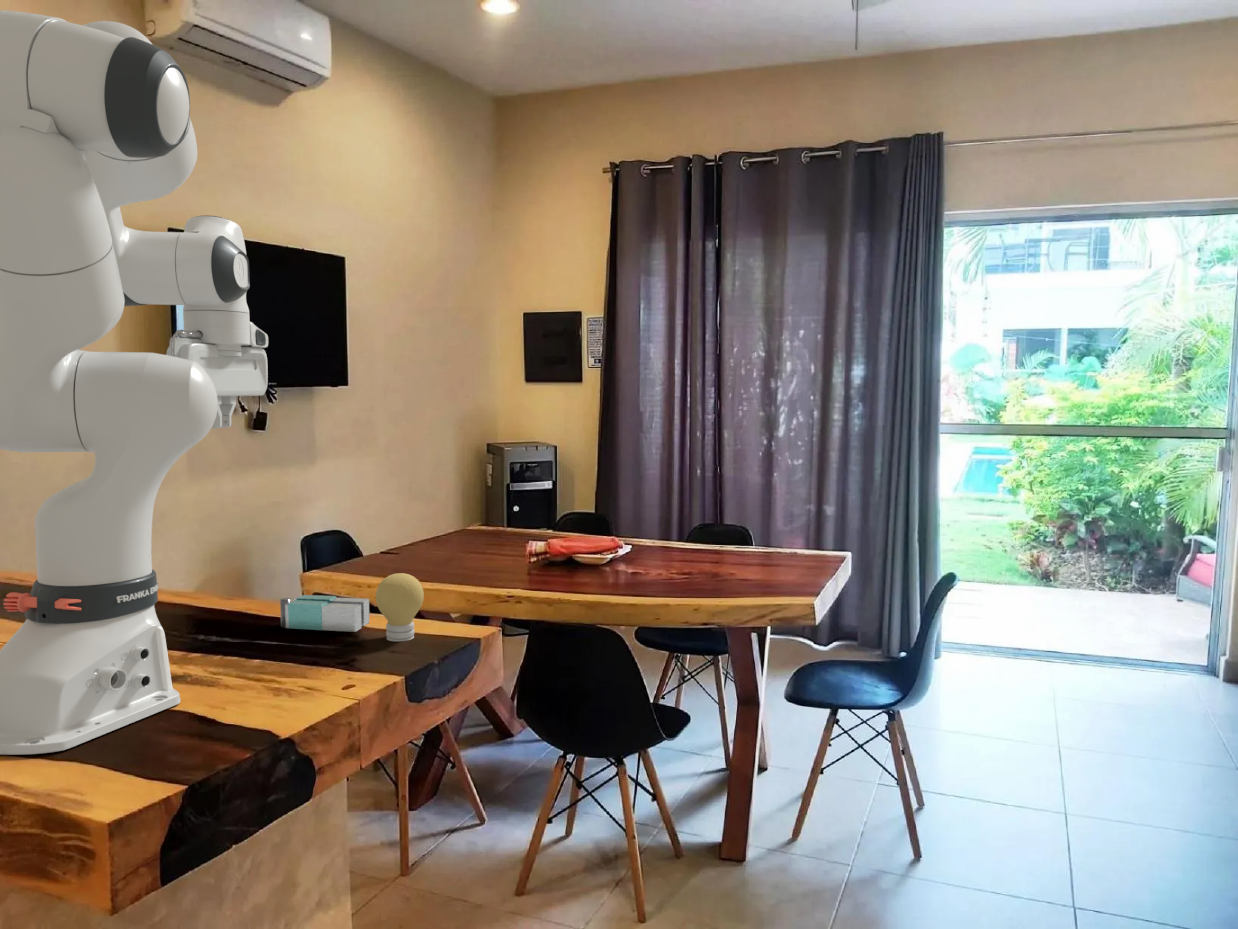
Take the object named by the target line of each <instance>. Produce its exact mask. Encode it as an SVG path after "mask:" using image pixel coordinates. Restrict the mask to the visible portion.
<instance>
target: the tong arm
mask: <svg viewBox="0 0 1238 929" xmlns="http://www.w3.org/2000/svg"><path fill="white" fill-rule="evenodd" d="M295 600H309V601H329V603H338V604H358V605H361V623H362V627H365V626H366V625H368V624H369V623H370V599H369V598H359V597H358V598H357V597H355V598H354V597H337V596H336V595H318V594H317V595H315V594H302V595H301V596H298V597H295V598H294V599H293V601H295Z"/></svg>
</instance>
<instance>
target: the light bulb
mask: <svg viewBox="0 0 1238 929" xmlns="http://www.w3.org/2000/svg"><path fill="white" fill-rule="evenodd" d="M424 593H425V592H424V589H423V586H422V584H421V582H420V581H419V579H417V578H416V577H415V576H413V575H411V574H408V573H404V572H403V573H402V572H399V573H392V574H389V575H388V576H386V577H384V579H382V580H381V582H379V584H378V586H377V589H376V592H375V603H376V606H377V608H378V610H379V612H380V613H381V614H382V615H383V617H384V618H385V619H386V621H387V622H386V625H385V627H386V628H385V629H386V632H385V634H386V640H387V641H390V642H407V641H410V640H412V639H414V638H415V636H414V635H415V623H414V621H413V620H414V618H415V617H416V616H417V613H418V612H419V611H420V609H421V608H422V605H423V603H424V597H425V594H424Z"/></svg>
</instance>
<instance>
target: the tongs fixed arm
mask: <svg viewBox="0 0 1238 929" xmlns="http://www.w3.org/2000/svg"><path fill="white" fill-rule="evenodd" d="M279 603H280V604H279V605H280V627H281V628H285V629H290V630H291V629H294V630H295V629H296V630H313V631H333V632H334V631H335V632H350V633H351V632H353V633H354V632H355V633H357V632H358V631H359V630H361V629H363V628H362V627H363V626H362V623H361V605H358V604H338V603H329V601H309V600H295V601H294V600H292V599H291V598H290V597H284V598H280V600H279Z"/></svg>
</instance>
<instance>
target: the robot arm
mask: <svg viewBox="0 0 1238 929" xmlns="http://www.w3.org/2000/svg"><path fill="white" fill-rule="evenodd" d="M190 111H191V97H190V89H189V84H188V81H187V77H186V75H185V73H184V71H183V70H182V68H181V66H180V65H179V64H178V63H177V62H176V60H175V59H174V58H173V57H172V55H171V54H170V53H169V52H167V51H165V49H162V48H161V47H159V46H156V45H154V44H153V43H152V41H150V40H149V38H148V37H146V36H145V35H144V34H143V33H142V32H140V31H139V30H137V29H136V28H134V27H132V26H130V25H127V24H125V23H121V22H118V21H111V20H110V21H109V20H97V21H92V22H91V21H90V22H87V23H85V24H82V25H81V24H78V23H74V22H69V21H67V20H65V19H63V18H61V17H55V16H51V15H44V14H41V13H31V12H25V11H16V10H4V9H3V10H1V9H0V450H3V451H10V452H17V453H86V452H87V453H93V454H94V456H95V458H94V466H93V469H92V472H91V473H90V475H89V476H88V477H86V478H85V479H82V480H79V481H78V482H75V483H72V484H71V485H68V486H66V487H64V488H63V489H61V490H59V491H57V492H55V493H53V494H51V495H50V496H48V498H46V499H45V500H44V502H42V503H41V505H40V506H39V507H38V510H37V511H36V515H35V517H34V536H35V556H36V572H37V573H36V575H37V576H36V577H37V579H36V580H35V581H34V582H33V584H32V587H31V591H30V593H29V592H24V593H21V592H14V591H12V592H9V593H7V594H6V595H5V597H6V598H4V599H3V603H2V604H3V609H6V611H7V612H9V613H10V612H11V613H12V612H13V613H14V612H20V613H24V618H25V621H24V622H23V623H22V625H21V626H20V627H19V628H18V629H17V630H16V632H14V634H12V636H11V637H10V638H9V639H8V641H7V642H6V643H5V644H4V645H3V647H2V648H1V649H0V755H10V756H11V755H37V754H38V755H39V754H47V753H49V754H50V753H55V752H61V751H65V750H68V749H71V748H74V747H77V746H78V745H81V744H83V743H86V742H88V741H91V740H92V739H95V738H98V737H101V736H103V735H106V734H107V733H110V732H112V731H115V730H118V729H120V728H123V727H125V726H128V725H129V724H132V723H135V722H137V721H140V720H142V719H145V718H147V717H150V716H152V715H154V714H157V713H159V712H162V711H164V710H168V709H170V708H172V707H174V706H177V705H179V704H180V703H181V697H180V696H181V695H180V692H179V691H178V690H177V689H175V688H174V687H173V683H172V675H171V674H172V673H171V667H170V661H169V660H170V659H169V655H168V648H167V646H168V645H167V641H166V640H167V639H166V634H165V631H164V628H163V626H162V624H161V622H160V620H159V618H158V615H157V613H156V608H155V605H156V603H157V602H158V600H159V598H158V596H159V595H158V590H159V582H158V580H157V579H158V578H157V577H158V576H157V572H156V571H155V570H154V569H153V562H152V559H153V557H152V549H153V548H152V547H153V546H152V539H153V538H152V536H153V519H154V509H155V508H154V507H155V502H156V500H157V499H156V498H157V495H158V492H159V491H160V490H159V489H160V487H161V485H162V483H163V481H164V479H165V478H166V475H167V474H168V472H169V471H170V470H171V468H173V466H174V465H175V464H176V462H177V461H178V460H179V459H180V458H181V457H182V456H183V455H184V454H186V453H187V452H188V451H189V450H190V449H192V448H193V447H194V446H196V445H198V444H199V443H200V442H201V441H202V440H203V439H205V438H206V436H207V435H208V434H209V433H210V431H211V429H226V428H231V427H232V415H233V413H234V411H235V408H236V406H237V397H252V396H253V397H254V396H255V397H257V396H258V397H259V396H261V397H262V396H264V395H265V394H266V391H267V389H268V383H269V382H268V381H269V380H268V378H269V376H268V375H269V373H268V372H269V371H268V368H269V367H268V357H267V353H266V352H267V351H266V350H265V349H266V348H268V346H269V336H268V334H267V333H266V332H264V331H263V330H262V329H261V328H259V327H258V326H257V325H255V324H254V322H252V321H250V319H251V318H250V308H249V306H248V303H247V292H248V290H249V289H250V287H251V285H250V283H251V282H250V279H251V278H250V261H249V257H248V256H247V250H246V249H247V248H246V243H245V237H244V233H243V230H242V227H241V226H240V225H239V224H238V223H237V222H235V221H233V220H231V219H229V218H226V217H225V218H224V217H223V216H217V215H208V214H207V215H197V216H193V217H190V218H188V219H187V220H186V221H185V224H184V230H183V232H180V231H177V232H176V231H150V230H149V231H148V230H146V231H145V230H140V229H139V230H138V229H134V228H131V227H127V226H125V224H124V219H123V216H122V211H121V207H123V206H126V205H130V204H135V203H140V202H141V203H142V202H146V201H154V200H156V199H157V200H158V199H161V198H163V197H165V196H169V194H171V193H173V192H174V191H177V189H178V188H180V187H181V186H182V185H183V184H184V183H185V182H186V181H187V180H188V179H189V178H190V176H191V174H192V173H193V171H194V168H195V166H196V165H197V160H198V144H197V139H196V132H195V130H194V126H193V122H192V120H191V116H190V114H191V113H190ZM146 305H162V306H163V305H164V306H165V305H166V306H168V305H169V306H183V308H182V314H183V315H182V318H183V320H182V322H183V329H177V330H176V331H175V333H174V334H173V335H172V337H170V338H169V346H168V348H167V350H166V354H163V353H162V354H161V353H158V352H157V353H156V352H142V351H141V352H137V351H136V352H134V351H132V352H131V351H130V352H129V351H89V350H88V351H87V350H82V348H85V347H87V346H90V345H91V344H94V343H96V342H97V341H99V340H100V339H101V338H103V337H105V336H106V335H107V334H108V333H110V331H112V329H114V328H115V327H116V326H117V324H118V323H119V321H120V320H121V318H122V316H123V314H124V309H125V307H136V306H146Z"/></svg>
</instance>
